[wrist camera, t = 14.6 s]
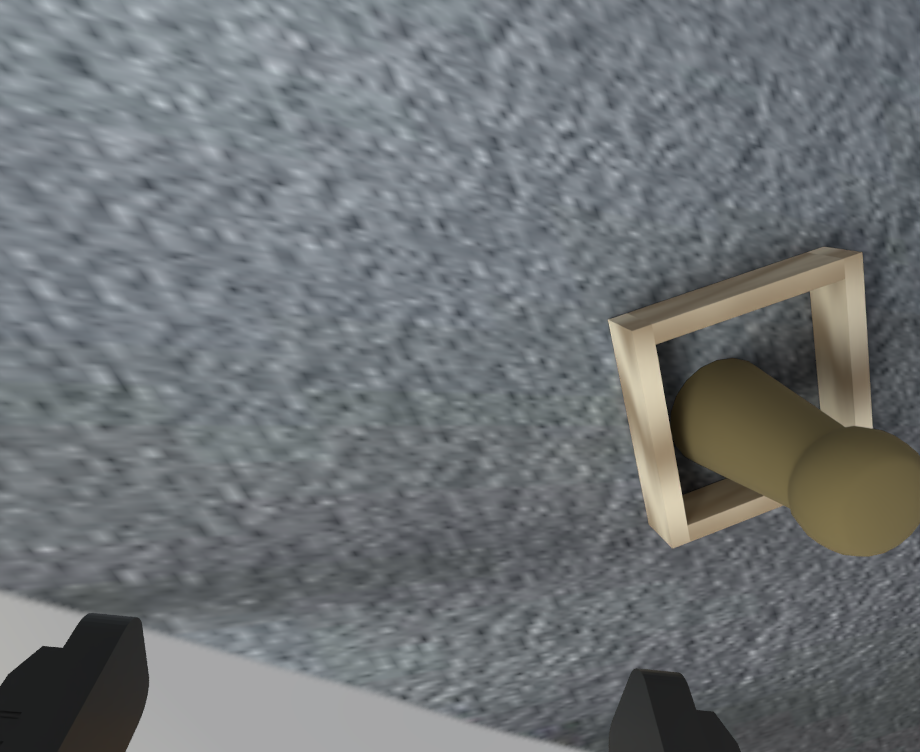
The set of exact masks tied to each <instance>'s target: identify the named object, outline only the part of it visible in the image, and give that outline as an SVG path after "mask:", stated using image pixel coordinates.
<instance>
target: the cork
mask: <svg viewBox="0 0 920 752" xmlns="http://www.w3.org/2000/svg"><path fill="white" fill-rule="evenodd" d="M670 430H671V433H672V437H673V440H674V443H675V445H676V446H677V448H678V449H679V450H680V451H681V453H682V454H683V455H684V456H685V457H687V458H688V459H690V460H692V461H694V462H695V463H697V464H699V465H701V466H704V467H706V468H708V469H710V470H712V471H714V472H716V473H718V474H720V475H722V476H724V477H726V478H728V479H730V480H732V481H734V482H737V483H739V484H741V485H743V486H745V487H747V488H749V489H751V490H753V491H755V492H757V493H759V494H761V495H763V496H765V497H767V498H770V499H772V500H774V501H776V502H778V503H780V504H782V505H784V506H786V507H788V508H790V510H791V514H792V515H793V516H794V518H795V519H796V521H797V522H798V523H799V525H800V526H801V527H802V529H803V530H804V531H805V532H806V534H807V535H808V536H809V537H811V538H812V539H813V540H815V541H816V542H817V543H819V544H821V545H823V546H824V547H826V548H828V549H830V550H832V551H835V552H837V553H840V554H843V555H851V556H873V555H878V554H882V553H885V552H887V551H889V550H891V549H893V548H895V547H897V546H898V545H900V544H901V543H902V542H903V541H904V540H905V539H907V538H908V537H909V536H910V535H911V534H912V533H913V532H914V530H915V529H916V528H917V526H918V525H919V524H920V456H919V454H918V453H917V452H916V451H915V450H914V449H913V448H911V447H910V446H909V445H908V444H906V443H905V442H903V441H902V440H900V439H899V438H898V437H896V436H894V435H892V434H890V433H887V432H885V431H882V430H877V429H871V428H866V427H859V426H850V427H844V426H843V425H842V424H840V423H839V422H837V421H836V420H834V419H833V418H831V417H830V416H828V415H827V414H825V413H824V412H822V411H821V410H819V409H818V408H817V407H815V406H814V405H812V404H811V403H809V402H808V401H806V400H805V399H803V398H802V397H800V396H799V395H797V394H796V393H794V392H793V391H792V390H790V389H789V388H787V387H786V386H784V385H783V384H781V383H780V382H778V381H777V380H775V379H774V378H772V377H771V376H769V375H768V374H767V373H765V372H764V371H762V370H761V369H759V368H758V367H756V366H755V365H753V364H752V363H750V362H749V361H745V360H740V359H735V358H730V359H723V360H716V361H714V362H712V363H710V364H708V365H706V366H704V367H702V368H700V369H699V370H698V371H697V372H696V373H694V374H693V375H692V376H691V377H690V378H689V379H688V380H687V381H686V382H685V384H684V385H683V387H682V388H681V390H680V391H679V393H678V394H677V396H676V399H675V402H674V405H673V408H672V411H671V425H670Z"/></svg>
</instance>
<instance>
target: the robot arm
mask: <svg viewBox="0 0 920 752" xmlns="http://www.w3.org/2000/svg"><path fill="white" fill-rule="evenodd" d="M148 688H149V674H148V666H147V658H146V651H145V643H144V636H143V628H142V622H141V620H140V619H139V618H137V617H127V616H117V615H107V614H97V613H89V614H87V615H86V616H84V617H83V618H82V619H81V621H80V622H79V623H78V625H77V626H76V628H75V630H74V631H73V633H72V635H71V636H70V638H69V639H68V641H67V642H66V644H65V645H64V647H63V648H58V647H47V646H42V647H41V648H40V649H39V650H37V651H36V652H35V653H34V654H32V655H31V656H30V657H29V658H28V659H26V660H25V661H24V662H23V663H21V664H20V665H19V666H18V667H17V668H16V669H14V670H13V671H12V672H11V673H10V674H8V676H7V677H6V679H5V680H4V682H3V683H2V684H1V686H0V752H126V749H127V747H128V745H129V743H130V740H131V739H132V736H133V734H134V732H135V730H136V728H137V725H138V723H139V721H140V718H141V716H142V713H143V710H144V707H145V703H146V699H147V695H148ZM609 752H741V751H740V749H739V746H738V744H737V742H736V741H735V739H734V738H733V737H732V735H731V734H730V733H729V731H728V730H727V729H726V727H725V726H724V725H723V723H722V722H721V721H720V719H719V718H718V717H717V715H716V714H715V713H714V712H711V711H701V710H696V708H695V705H694V702H693V699H692V696H691V693H690V690H689V687H688V684H687V682H686V680H685V678H684V676H683V675H682V674H681V673H678V672H668V671H658V670H648V669H637V668H636V669H634V670H633V671H632V672H631V674H630V677H629V679H628V682H627V684H626V687H625V689H624V692H623V694H622V697H621V700H620V702H619V705H618V707H617V710H616V712H615V715H614V717H613V720H612V723H611V727H610V733H609Z"/></svg>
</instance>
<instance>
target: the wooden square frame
mask: <svg viewBox="0 0 920 752" xmlns="http://www.w3.org/2000/svg"><path fill="white" fill-rule="evenodd" d="M809 291H810V298H811V309H812V321H813V332H814V343H815V355H816V366H817V377H818V389H819V400H820V410H821V411H822V412H824V413H825V414H827V415H828V416H830V417H831V418H833V419H834V420H836V421H837V422H839V423H840V424H842V425H843V426H844V427H850V426H859V427H866V428H871V429H873V425H872V408H871V391H870V374H869V357H868V340H867V323H866V306H865V289H864V272H863V255H862V252H858V251H851V250H844V249H837V248H830V247H821V248H818V249H815V250H812V251H809V252H806V253H803V254H800V255H797V256H794V257H791V258H789V259H786V260H783V261H780V262H777V263H774V264H771V265H768V266H765V267H762V268H759V269H756V270H753V271H750V272H747V273H744V274H741V275H738V276H735V277H732V278H729V279H727V280H724V281H721V282H718V283H715V284H712V285H709V286H706V287H703V288H700V289H697V290H694V291H691V292H688V293H685V294H682V295H679V296H676V297H673V298H670V299H667V300H665V301H662V302H659V303H656V304H653V305H650V306H647V307H644V308H641V309H638V310H635V311H632V312H629V313H626V314H623V315H620V316H617V317H614V318H611V319H608V322H609V327H610V332H611V337H612V342H613V347H614V352H615V357H616V362H617V367H618V372H619V377H620V382H621V387H622V392H623V397H624V402H625V407H626V412H627V417H628V422H629V427H630V432H631V437H632V442H633V447H634V452H635V457H636V462H637V467H638V472H639V477H640V482H641V487H642V492H643V497H644V502H645V507H646V512H647V517H648V522H649V525H650V526H651V527H652V528H653V529H654V530H655V531H656V532H657V533H658V534H659V535H660V536H661V537H662V538H663V539H664V540H665V541H666V542H667V543H668V544H669V545H670V546H671V547H672V548H675V547H678V546H680V545H683V544H686V543H688V542H691V541H693V540H696V539H698V538H701V537H704V536H706V535H709V534H711V533H714V532H716V531H719V530H721V529H724V528H727V527H729V526H732V525H734V524H737V523H739V522H742V521H744V520H747V519H750V518H752V517H755V516H757V515H760V514H762V513H765V512H768V511H770V510H773V509H775V508H778V507H780V506H783V505H782V504H780V503H778V502H776V501H774V500H772V499H770V498H767V497H765V496H763V495H761V494H759V493H757V492H755V491H753V490H751V489H749V488H747V487H745V486H743V485H741V484H739V483H737V482H734V481H732V480H730V479H728V478H726V479H724V480H721V481H718V482H716V483H713V484H711V485H708V486H705V487H703V488H700V489H697V490H695V491H692V492H689V493H687V494H684V495H682V492H681V486H680V481H679V475H678V469H677V464H676V458H675V452H674V447H673V441H672V435H671V430H670V424H669V418H668V413H667V407H666V401H665V396H664V390H663V384H662V379H661V373H660V367H659V362H658V356H657V350H656V344H659V343H662V342H665V341H667V340H670V339H673V338H676V337H679V336H682V335H685V334H688V333H691V332H693V331H696V330H699V329H702V328H705V327H708V326H711V325H714V324H716V323H719V322H722V321H725V320H728V319H731V318H734V317H737V316H739V315H742V314H745V313H748V312H751V311H754V310H757V309H760V308H763V307H765V306H768V305H771V304H774V303H777V302H780V301H783V300H786V299H788V298H791V297H794V296H797V295H800V294H803V293H806V292H809Z"/></svg>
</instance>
